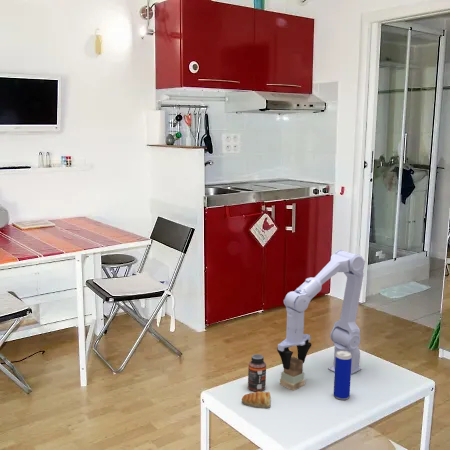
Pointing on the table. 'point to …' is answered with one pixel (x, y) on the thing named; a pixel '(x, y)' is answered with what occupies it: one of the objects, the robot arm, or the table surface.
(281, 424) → the table surface
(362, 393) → the table surface
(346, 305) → the robot arm
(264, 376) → the supplement bottle
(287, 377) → the tower top
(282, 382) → the tower base
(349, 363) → the beverage can
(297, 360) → the walnut cube
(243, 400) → the pastry
